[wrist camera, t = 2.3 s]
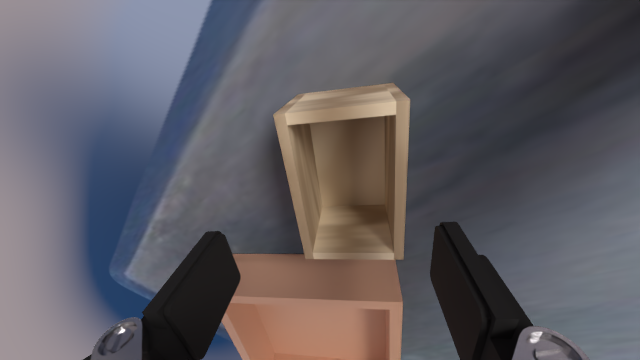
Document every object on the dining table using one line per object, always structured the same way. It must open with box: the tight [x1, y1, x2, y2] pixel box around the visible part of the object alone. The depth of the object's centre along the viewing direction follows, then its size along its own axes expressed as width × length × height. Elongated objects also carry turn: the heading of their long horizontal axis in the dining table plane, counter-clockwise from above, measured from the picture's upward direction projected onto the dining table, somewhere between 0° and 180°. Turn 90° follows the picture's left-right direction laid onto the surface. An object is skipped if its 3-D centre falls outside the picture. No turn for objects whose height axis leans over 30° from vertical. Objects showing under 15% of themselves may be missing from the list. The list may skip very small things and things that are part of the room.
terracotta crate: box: [222, 254, 403, 360], centre depth 27 cm, size 17×19×5 cm
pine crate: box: [273, 83, 410, 260], centre depth 16 cm, size 6×10×6 cm, turn 8°
